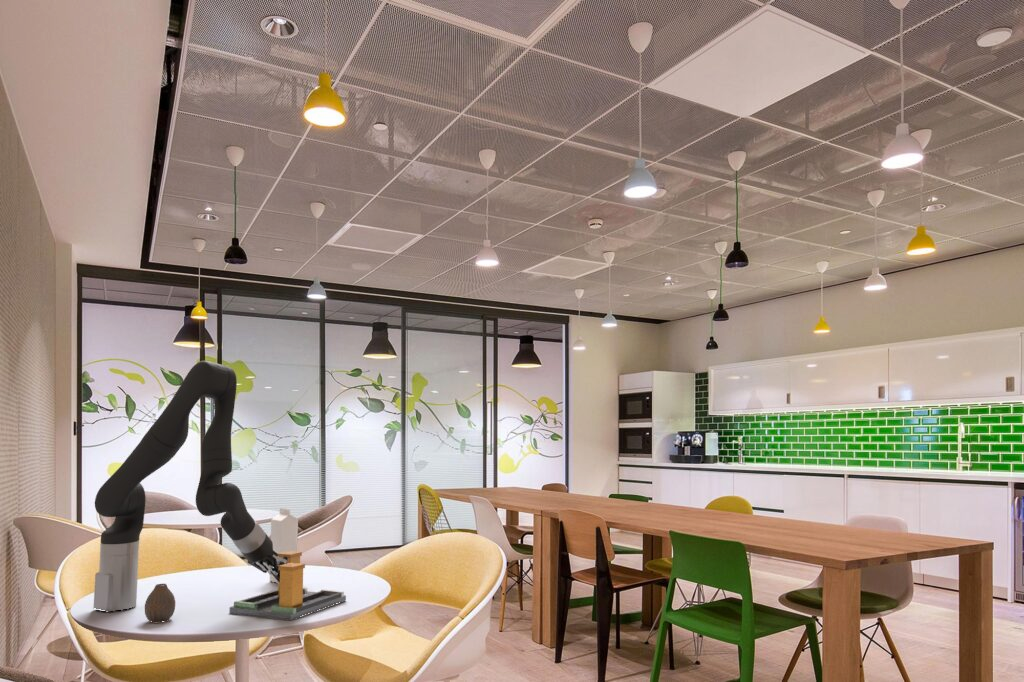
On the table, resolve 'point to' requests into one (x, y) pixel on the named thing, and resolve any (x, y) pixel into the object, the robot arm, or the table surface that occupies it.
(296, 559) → the orange capped square pillar
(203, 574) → the table surface
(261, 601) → the twin pillar base
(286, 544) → the milk
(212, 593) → the table surface
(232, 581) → the table surface
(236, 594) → the table surface
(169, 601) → the vase
